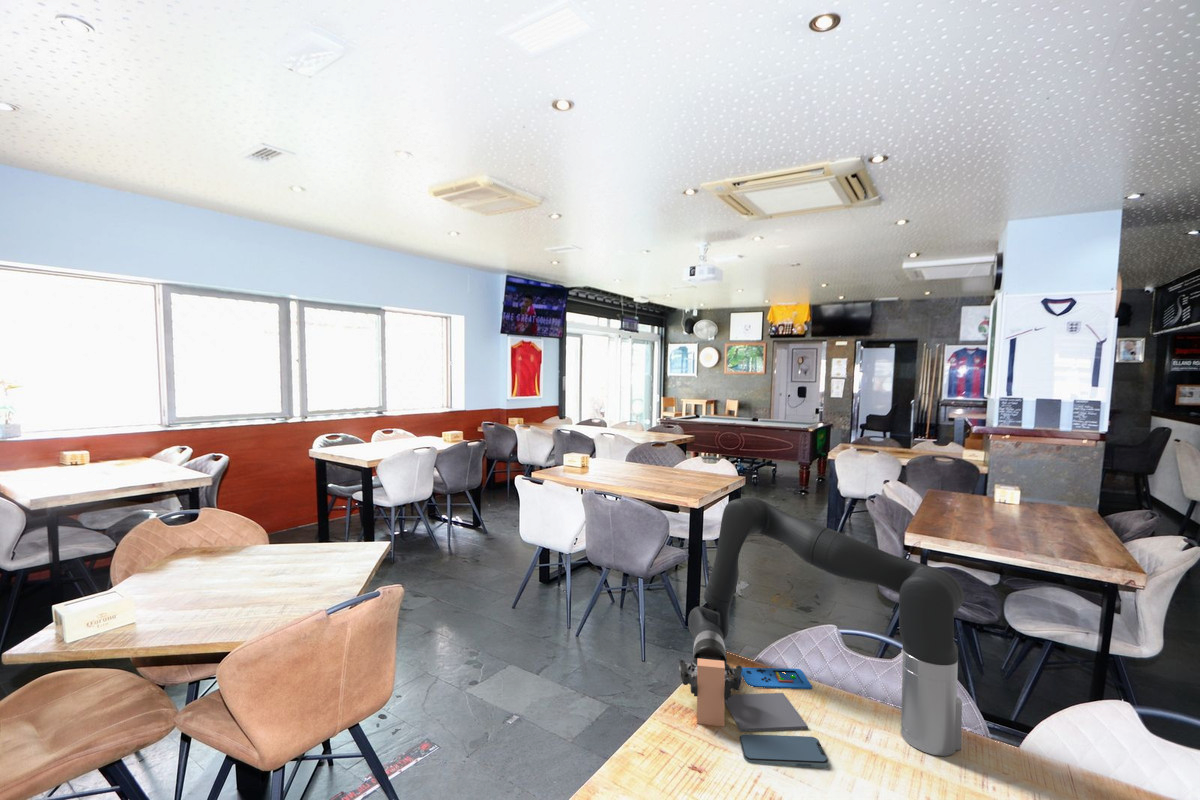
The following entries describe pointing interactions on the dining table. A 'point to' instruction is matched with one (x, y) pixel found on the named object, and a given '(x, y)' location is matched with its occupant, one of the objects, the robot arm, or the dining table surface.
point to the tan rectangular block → (710, 692)
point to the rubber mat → (764, 712)
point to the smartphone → (783, 750)
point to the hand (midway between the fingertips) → (711, 693)
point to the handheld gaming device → (775, 678)
